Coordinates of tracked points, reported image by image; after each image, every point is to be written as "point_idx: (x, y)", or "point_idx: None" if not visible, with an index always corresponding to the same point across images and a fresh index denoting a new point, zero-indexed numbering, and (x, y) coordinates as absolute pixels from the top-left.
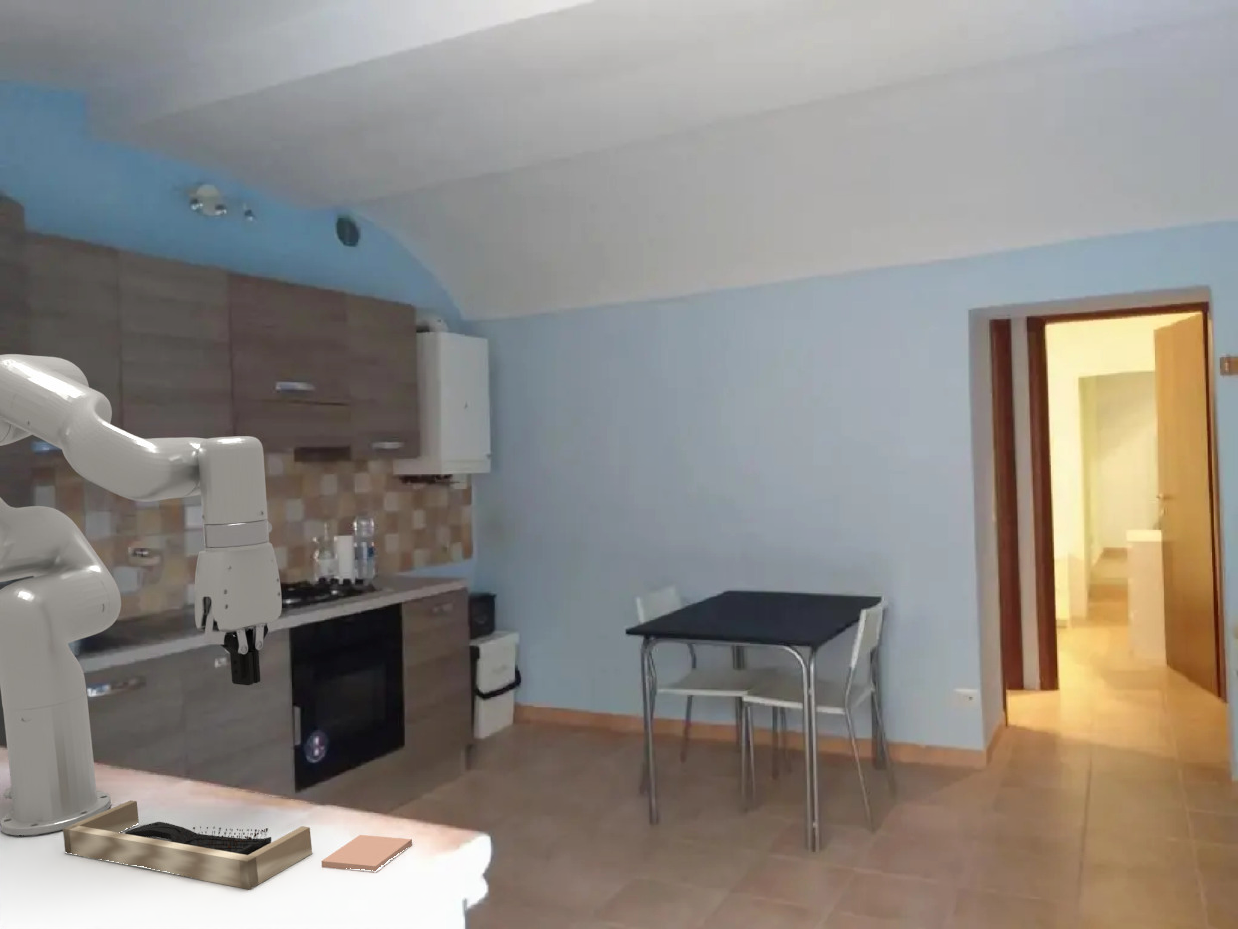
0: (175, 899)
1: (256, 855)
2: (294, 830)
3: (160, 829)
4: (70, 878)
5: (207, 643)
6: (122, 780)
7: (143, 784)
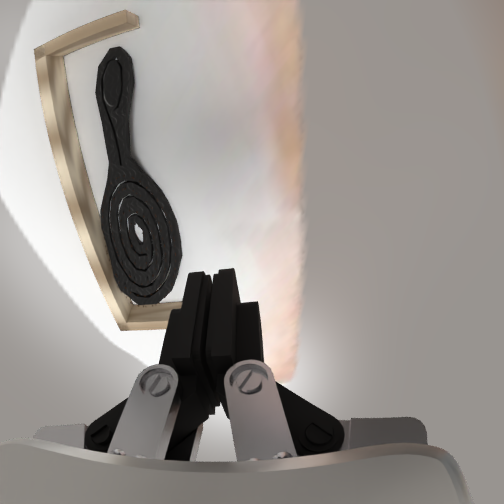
0: (80, 272)
1: (130, 329)
2: None
3: (108, 135)
4: (31, 131)
5: (47, 429)
6: None
7: None
